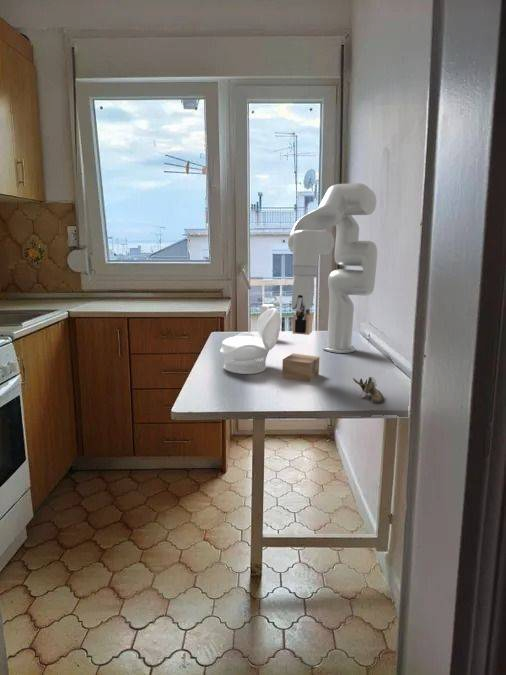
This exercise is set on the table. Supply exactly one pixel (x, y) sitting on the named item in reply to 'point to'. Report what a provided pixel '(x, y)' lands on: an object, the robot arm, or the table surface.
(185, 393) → the table surface
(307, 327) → the peach block
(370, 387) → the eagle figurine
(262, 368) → the white toilet model
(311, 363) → the walnut block
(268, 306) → the white rounded tall piece
